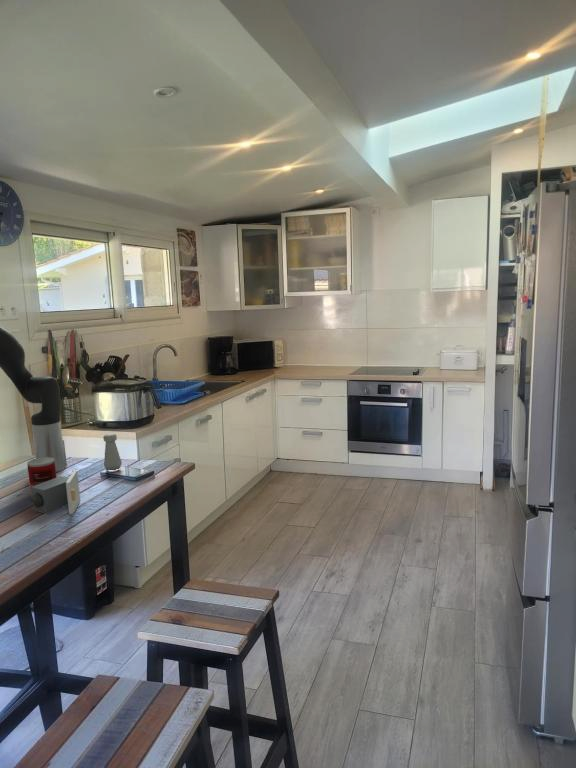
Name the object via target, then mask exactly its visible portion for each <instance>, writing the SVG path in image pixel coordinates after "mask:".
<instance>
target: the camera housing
mask: <svg viewBox="0 0 576 768" xmlns="http://www.w3.org/2000/svg"><path fill="white" fill-rule="evenodd" d="M73 471H77V470H75V469H73V470H72V473H73ZM56 477H57V476H56ZM68 479H69V477H68V476H61V475H60V476H58V477H57V478H54V479H51V480H49V481H46V482H43V483H40V484H38V485H35V486H32V487H31V489H30V494H31V493H32V495H31V501H32V508H33V511H36V512H40V513H43V514H46V515H48V514H50V513H52V512H54V511H57V510H59V509H62V508H64V507H68V498H67V489H66V482H67V480H68Z"/></svg>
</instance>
